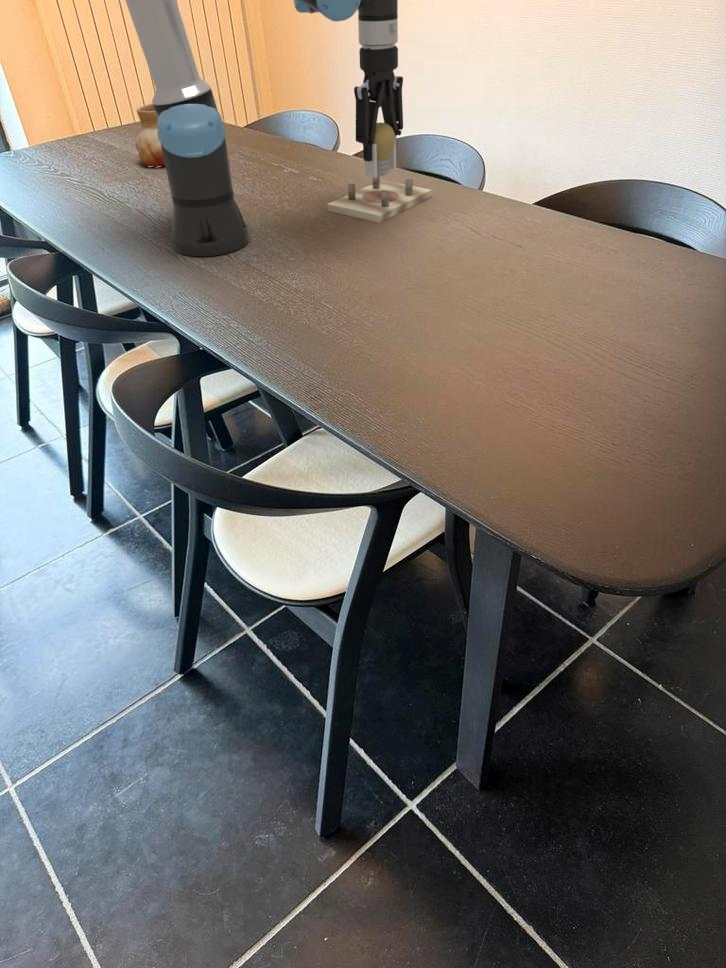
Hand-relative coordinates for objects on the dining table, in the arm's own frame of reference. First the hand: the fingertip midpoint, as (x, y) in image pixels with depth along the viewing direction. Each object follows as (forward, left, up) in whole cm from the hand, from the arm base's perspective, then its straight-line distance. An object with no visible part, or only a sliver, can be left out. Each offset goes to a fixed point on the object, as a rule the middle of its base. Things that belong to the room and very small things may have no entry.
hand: (380, 172), depth 144 cm
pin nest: (0, 0, -7) cm, 7 cm away
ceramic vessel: (+3, +70, -7) cm, 71 cm away
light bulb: (0, 0, -1) cm, 1 cm away
